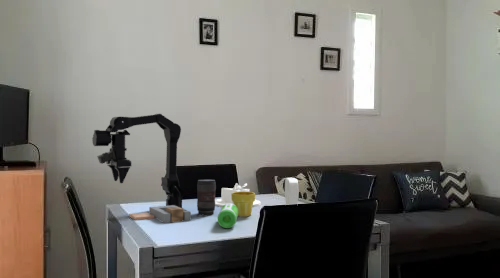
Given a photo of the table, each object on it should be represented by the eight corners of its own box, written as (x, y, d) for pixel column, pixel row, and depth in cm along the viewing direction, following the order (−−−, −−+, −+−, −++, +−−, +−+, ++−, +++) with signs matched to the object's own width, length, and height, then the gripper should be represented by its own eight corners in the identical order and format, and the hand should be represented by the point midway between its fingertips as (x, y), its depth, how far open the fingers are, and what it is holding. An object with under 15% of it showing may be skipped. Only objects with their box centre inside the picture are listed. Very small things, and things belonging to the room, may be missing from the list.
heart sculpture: (300, 227, 176) (300, 180, 176) (287, 227, 176) (287, 180, 176) (294, 219, 192) (295, 176, 192) (282, 219, 192) (283, 176, 191)
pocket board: (173, 213, 201) (174, 205, 201) (190, 220, 186) (190, 211, 186) (149, 215, 196) (149, 207, 196) (164, 222, 180) (164, 213, 180)
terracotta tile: (147, 214, 197) (147, 212, 197) (154, 218, 189) (154, 215, 189) (128, 216, 192) (129, 213, 192) (135, 220, 185) (135, 217, 185)
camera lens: (218, 213, 203) (219, 179, 202) (209, 216, 195) (209, 181, 195) (202, 211, 206) (203, 178, 206) (193, 214, 199) (193, 180, 198)
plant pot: (227, 216, 196) (227, 193, 196) (236, 212, 206) (236, 190, 205) (250, 218, 192) (250, 195, 192) (258, 214, 202) (258, 192, 202)
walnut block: (177, 218, 190) (177, 206, 190) (183, 221, 185) (183, 208, 185) (166, 219, 187) (166, 207, 187) (171, 222, 182) (171, 209, 182)
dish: (269, 203, 234) (269, 181, 234) (242, 210, 213) (243, 186, 213) (230, 199, 248) (230, 178, 247) (201, 204, 227) (201, 182, 226)
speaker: (220, 220, 188) (221, 202, 188) (238, 220, 188) (238, 202, 188) (216, 229, 171) (217, 209, 170) (236, 229, 170) (236, 209, 170)
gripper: (94, 145, 199) (94, 180, 200) (104, 147, 183) (104, 185, 184) (119, 144, 205) (119, 179, 206) (131, 146, 189) (131, 184, 190)
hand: (118, 182), depth 196 cm, fingers open, 9 cm apart
